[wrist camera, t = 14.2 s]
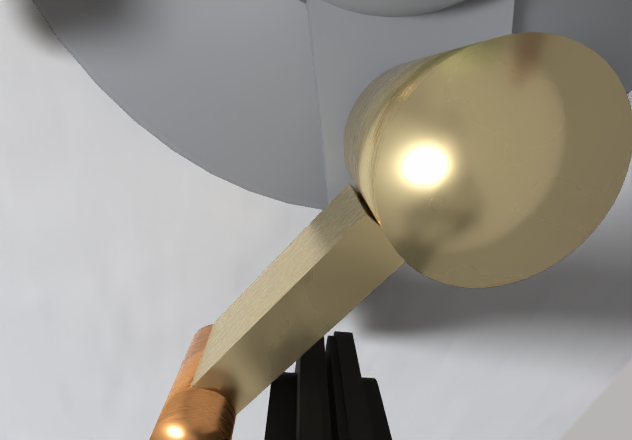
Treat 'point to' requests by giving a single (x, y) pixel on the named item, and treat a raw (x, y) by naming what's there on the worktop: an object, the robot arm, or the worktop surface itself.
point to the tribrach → (291, 70)
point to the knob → (426, 205)
